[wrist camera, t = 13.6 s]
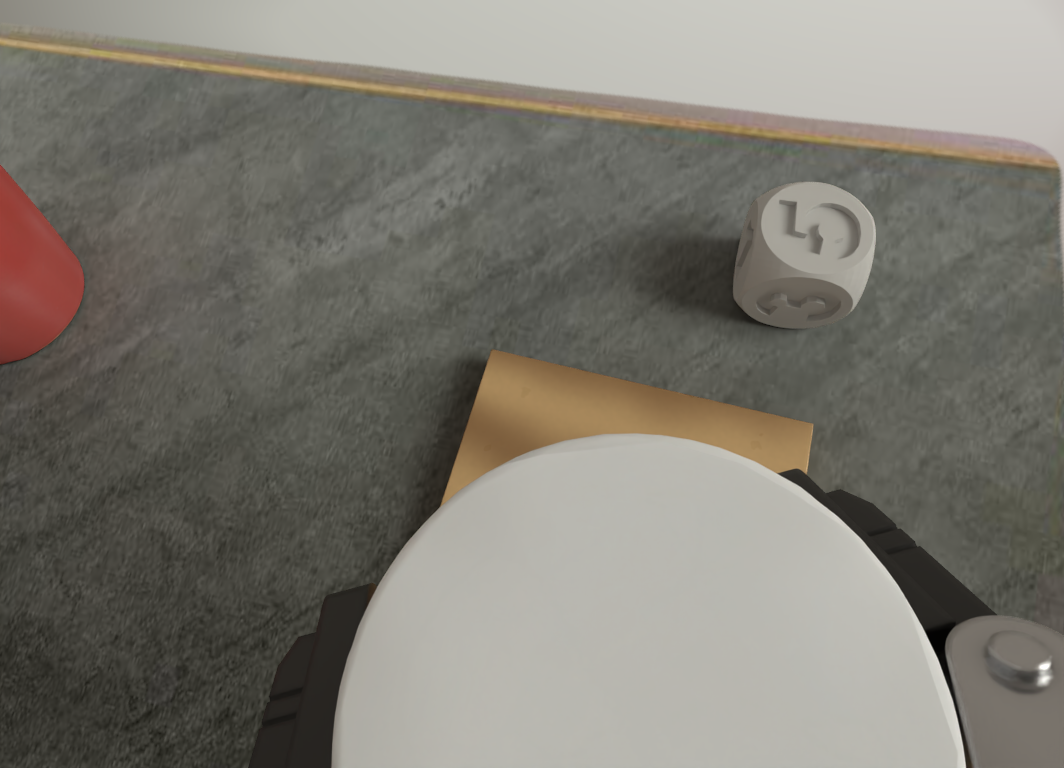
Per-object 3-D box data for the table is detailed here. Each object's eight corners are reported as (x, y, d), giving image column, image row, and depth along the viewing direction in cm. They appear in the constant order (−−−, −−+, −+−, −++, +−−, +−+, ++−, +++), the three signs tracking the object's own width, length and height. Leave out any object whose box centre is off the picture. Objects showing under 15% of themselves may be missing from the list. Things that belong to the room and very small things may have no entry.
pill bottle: (426, 782, 14) (56, 1118, 4) (498, 508, 17) (368, 289, 6) (712, 870, 14) (1126, 1573, 3) (750, 568, 16) (1075, 424, 5)
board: (495, 360, 33) (491, 348, 31) (803, 433, 30) (814, 423, 29) (349, 809, 26) (337, 818, 25) (729, 946, 24) (739, 965, 22)
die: (737, 236, 35) (762, 173, 30) (836, 249, 34) (877, 187, 29) (728, 321, 33) (753, 268, 28) (832, 336, 32) (875, 285, 27)
